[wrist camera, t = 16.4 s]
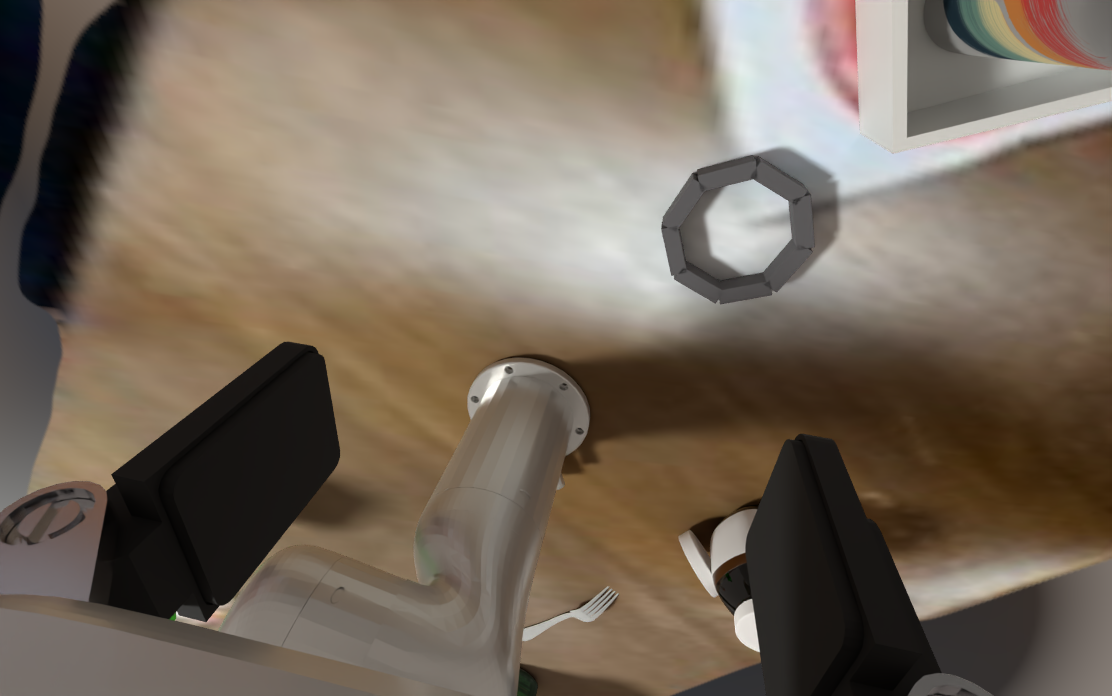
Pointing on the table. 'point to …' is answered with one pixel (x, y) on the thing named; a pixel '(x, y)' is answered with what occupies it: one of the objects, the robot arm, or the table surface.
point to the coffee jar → (526, 684)
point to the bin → (951, 83)
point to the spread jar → (727, 569)
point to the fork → (572, 615)
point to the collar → (782, 263)
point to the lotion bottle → (1025, 30)
